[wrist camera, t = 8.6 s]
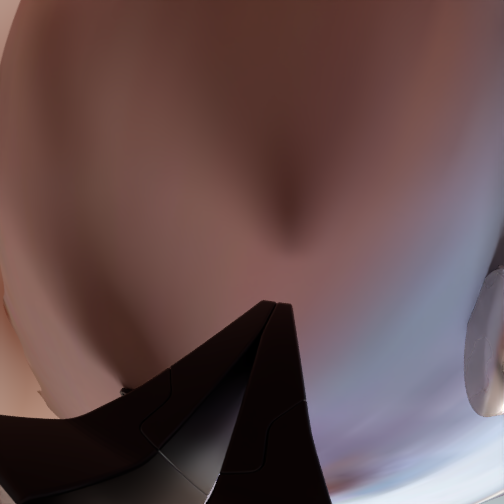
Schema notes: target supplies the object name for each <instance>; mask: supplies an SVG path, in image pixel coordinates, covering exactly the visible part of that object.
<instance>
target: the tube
mask: <svg viewBox="0 0 504 504" xmlns="http://www.w3.org/2000/svg"><path fill="white" fill-rule="evenodd" d="M464 379H465V387H466V392H467V396H468V400H469V402H470V405H471V406H472V408H473V410H474V411H475V412H476V413H477V414H479V415H480V416H483V417H490V416H497V415H503V414H504V266H501V265H498V268H497V270H495V271H493V272H491V273H490V274H489V275H488V276H487V277H486V278H485V280H484V283H483V286H482V288H481V291H480V294H479V297H478V299H477V302H476V305H475V307H474V310H473V312H472V315H471V317H470V319H469V322H468V326H467V332H466V340H465V350H464Z"/></svg>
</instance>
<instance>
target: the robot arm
mask: <svg viewBox="0 0 504 504" xmlns="http://www.w3.org/2000/svg"><path fill="white" fill-rule="evenodd" d="M120 393H121V395H122V396H121V397H119V398H117V399H115V400H113V401H111V402H109V403H107V404H105V405H103V406H101V407H99V408H97V409H95V410H93V411H91V412H89V413H86V414H84V415H81V416H78V417H74V418H69V419H42V418H26V417H15V416H6V415H0V504H204V502H205V500H206V498H207V495H209V493H210V491H211V489H212V487H213V485H214V483H215V481H216V479H217V477H218V479H217V482H216V484H215V487H214V490H213V491H212V494H211V496H210V498H209V499H208V501H207V502H206V504H332V502H331V499H330V496H329V493H328V489H327V486H326V483H325V479H324V476H323V472H322V469H321V466H320V462H319V459H318V456H317V452H316V448H315V444H314V440H313V436H312V432H311V426H310V420H309V415H308V407H307V402H306V393H305V386H304V379H303V372H302V365H301V359H300V352H299V346H298V339H297V333H296V326H295V320H294V314H293V308H292V305H291V304H288V303H281V302H279V303H276V302H273V301H266V300H262V301H260V302H259V303H258V304H256V305H255V306H254V307H252V308H251V309H250V310H248V311H247V312H246V313H244V314H243V315H242V316H240V317H239V318H238V319H236V320H235V321H234V322H232V323H231V324H230V325H228V326H227V327H225V328H224V329H223V330H221V331H220V332H219V333H217V334H216V335H214V336H213V337H212V338H210V339H209V340H208V341H206V342H205V343H203V344H202V345H201V346H199V347H198V348H196V349H195V350H193V351H192V352H191V353H189V354H188V355H186V356H185V357H184V358H182V359H181V360H179V361H178V362H176V363H175V364H173V365H172V366H171V367H170V368H167V369H166V370H165V371H163V372H162V373H160V374H159V375H157V376H156V377H154V378H153V379H151V380H149V381H148V382H146V383H145V384H143V385H141V386H140V387H138V388H136V389H134V390H132V391H129V390H127V389H125V388H122V389H121V391H120ZM219 473H220V475H219ZM218 475H219V476H218Z"/></svg>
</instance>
